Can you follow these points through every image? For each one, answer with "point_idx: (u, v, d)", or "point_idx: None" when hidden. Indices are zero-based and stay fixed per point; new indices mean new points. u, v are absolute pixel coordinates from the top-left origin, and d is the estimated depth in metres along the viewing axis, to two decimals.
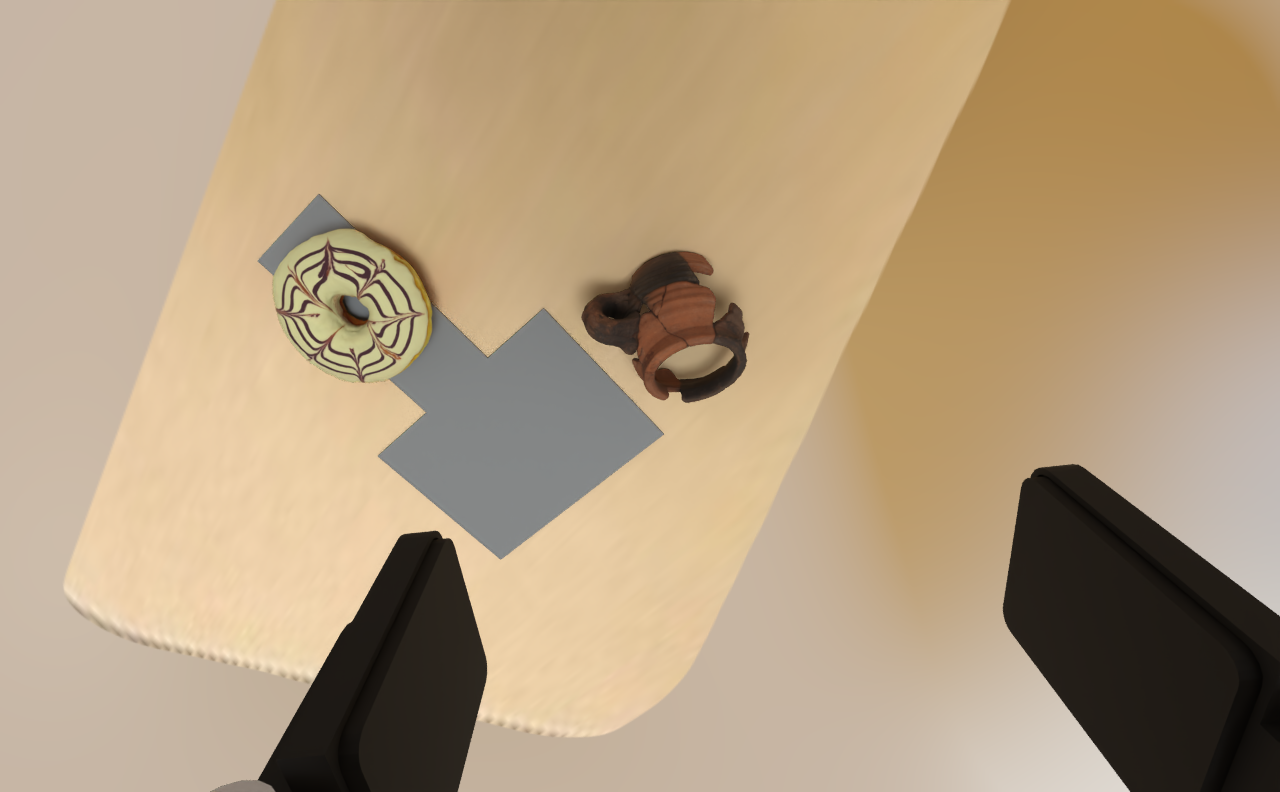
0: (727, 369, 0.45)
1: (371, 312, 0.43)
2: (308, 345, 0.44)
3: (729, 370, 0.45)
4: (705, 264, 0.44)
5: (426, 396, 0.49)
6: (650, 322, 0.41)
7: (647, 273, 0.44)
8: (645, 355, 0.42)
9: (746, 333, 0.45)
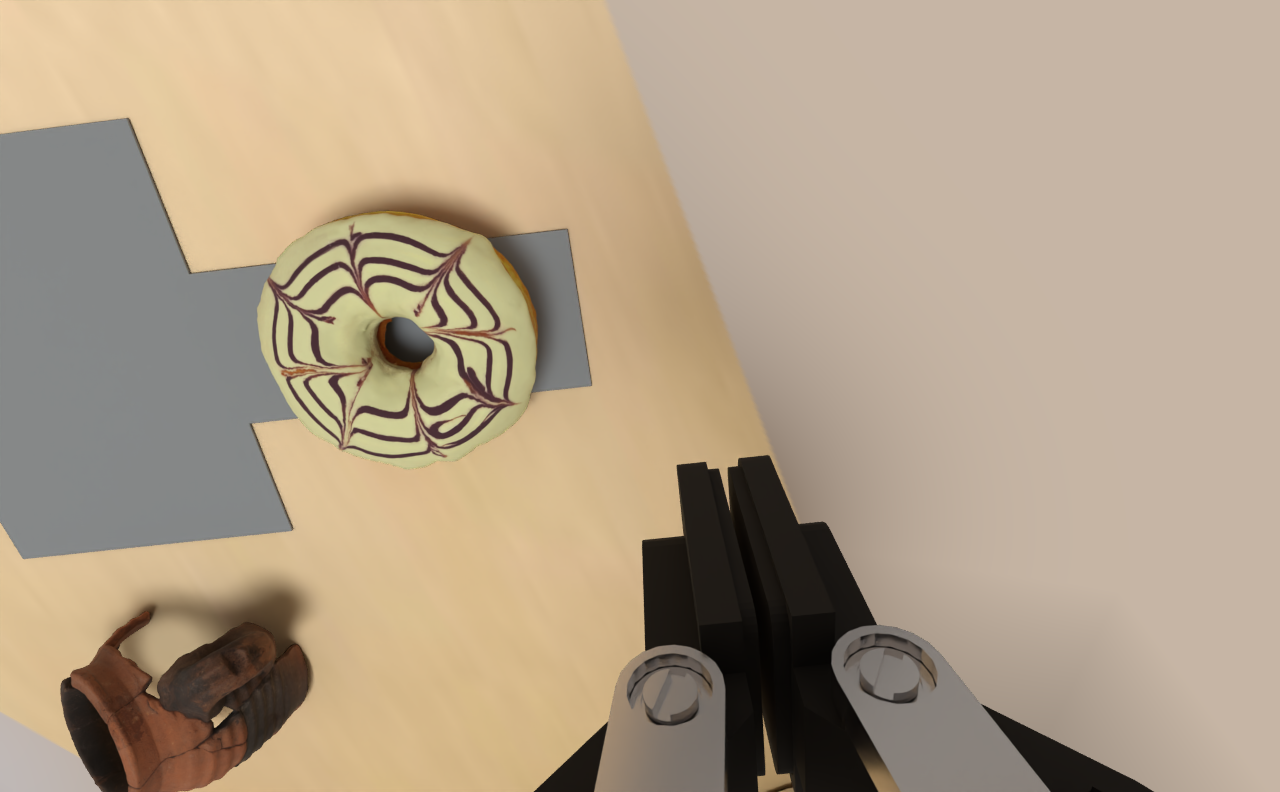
0: (99, 740, 0.32)
1: (380, 385, 0.25)
2: (374, 256, 0.23)
3: (94, 747, 0.31)
4: None
5: (220, 295, 0.27)
6: (191, 738, 0.29)
7: (285, 688, 0.33)
8: (143, 713, 0.28)
9: None
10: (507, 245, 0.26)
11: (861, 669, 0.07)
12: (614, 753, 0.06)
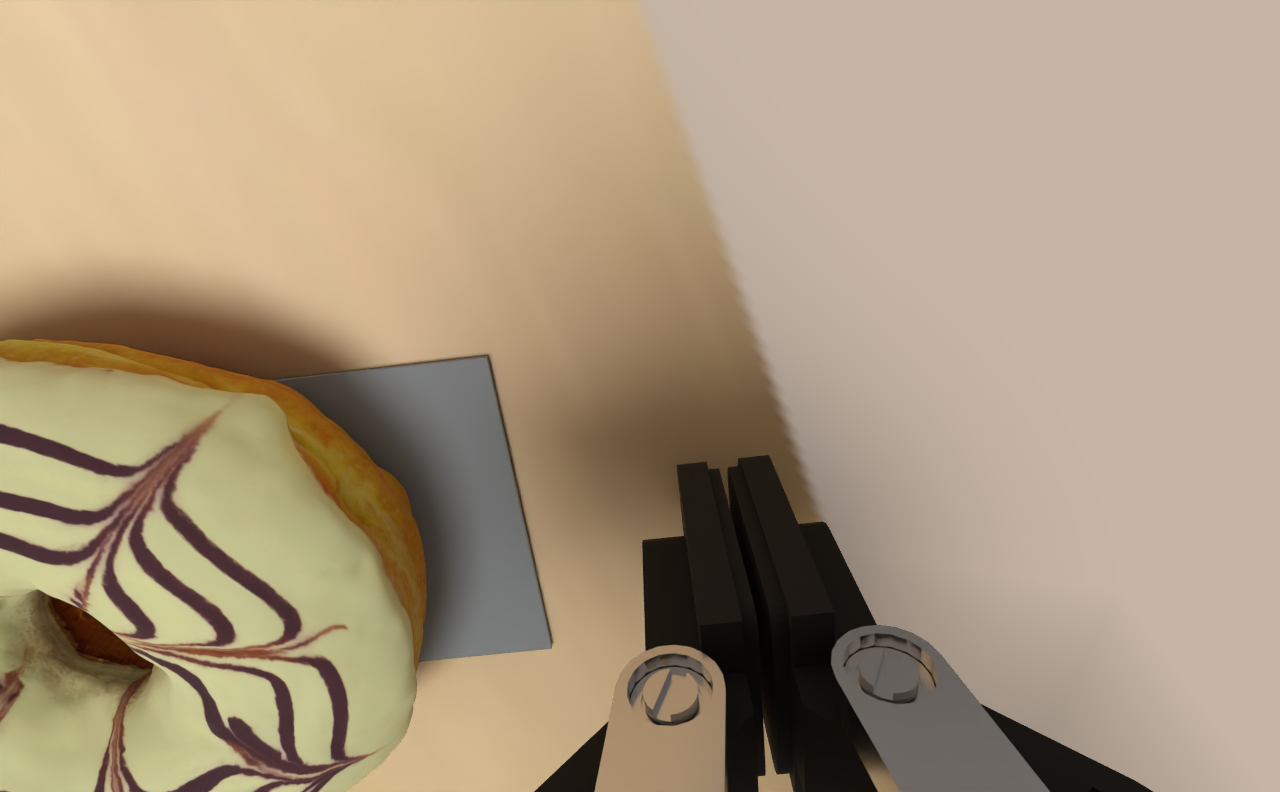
0: None
1: (40, 734, 0.11)
2: None
3: None
4: None
5: None
6: None
7: None
8: None
9: None
10: (355, 390, 0.12)
11: (861, 669, 0.07)
12: (614, 753, 0.06)
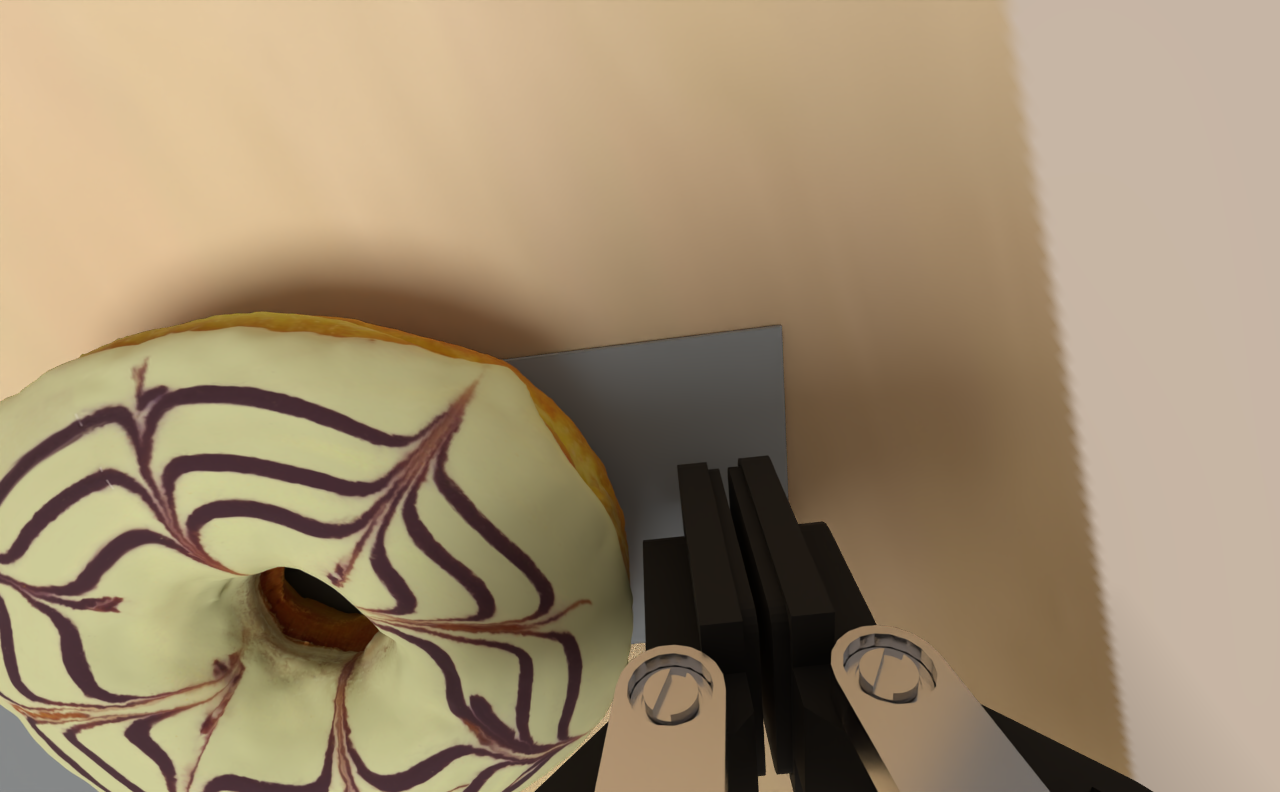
0: None
1: (262, 716, 0.10)
2: (207, 452, 0.08)
3: None
4: None
5: None
6: None
7: None
8: None
9: None
10: (641, 362, 0.11)
11: (861, 669, 0.07)
12: (614, 753, 0.06)
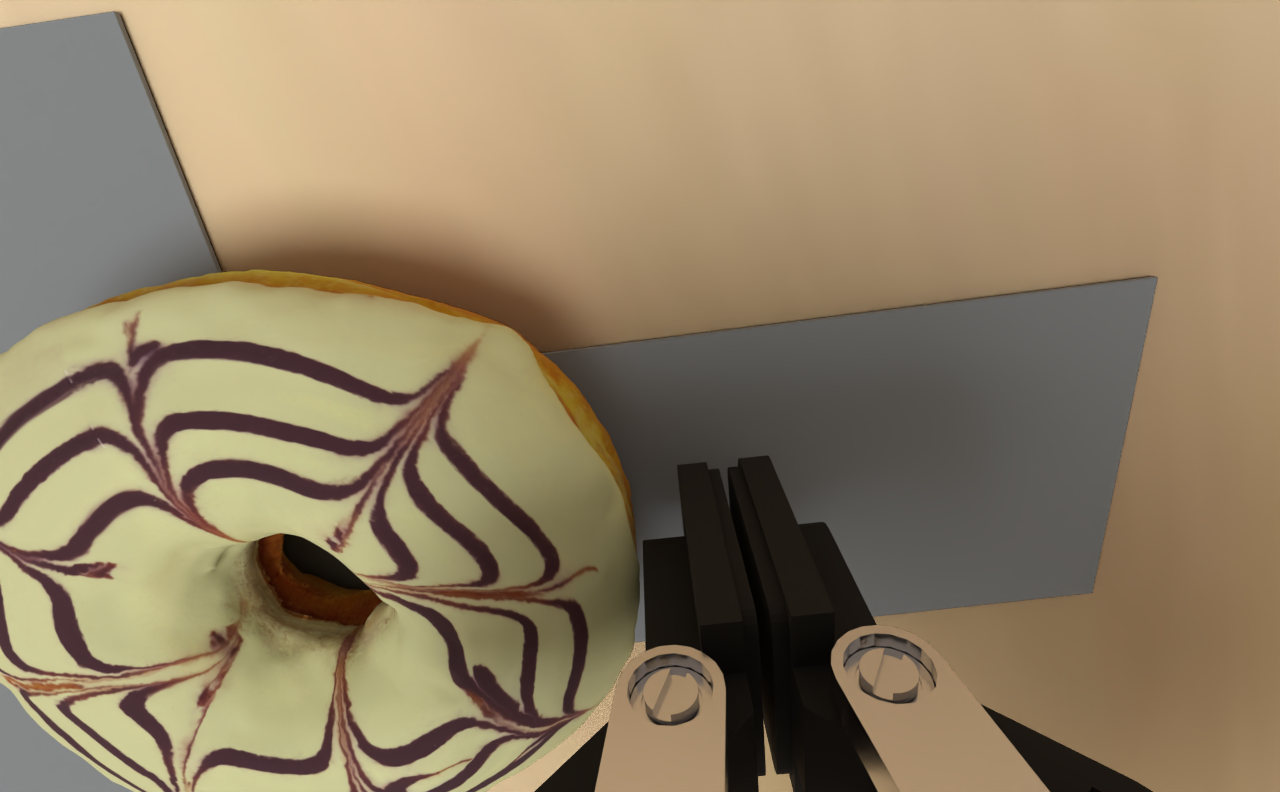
0: None
1: (261, 689, 0.10)
2: (201, 410, 0.08)
3: None
4: None
5: None
6: None
7: None
8: None
9: None
10: (1002, 316, 0.11)
11: (861, 669, 0.07)
12: (614, 754, 0.06)
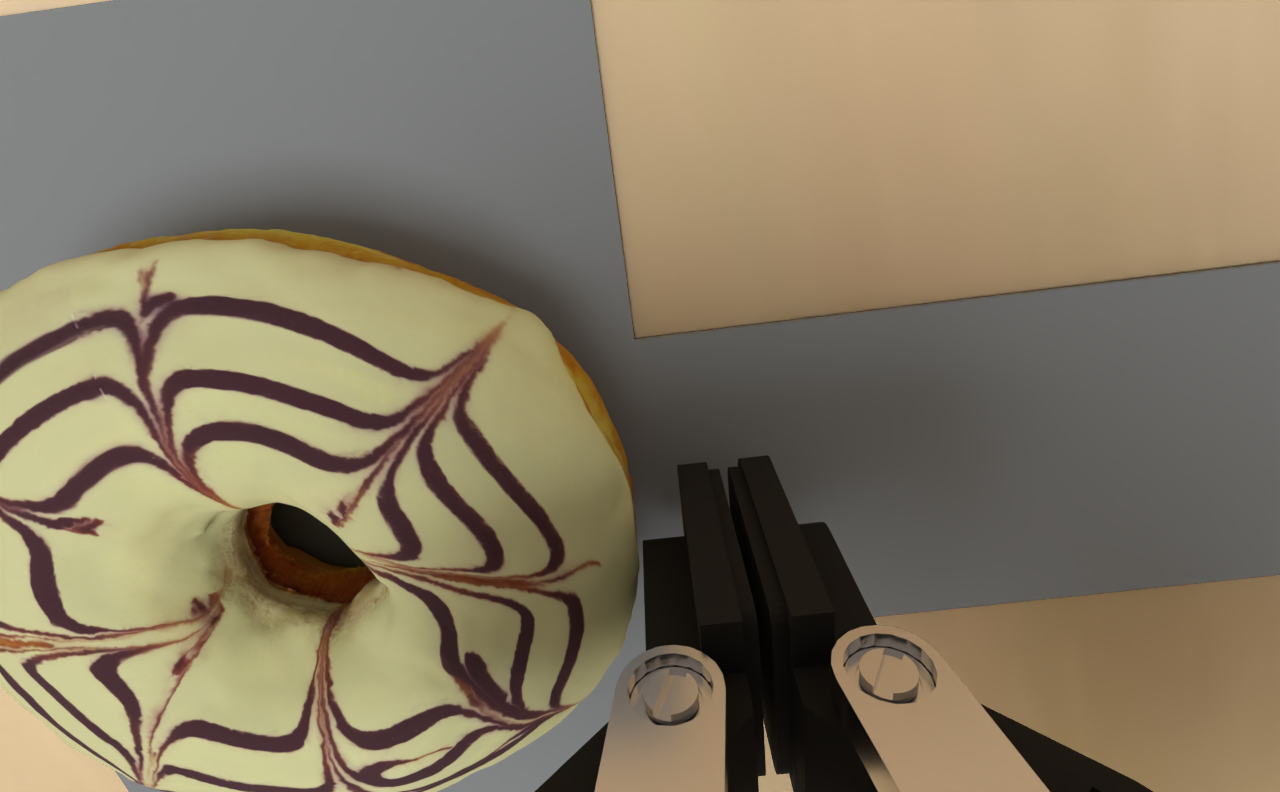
0: None
1: (239, 662, 0.10)
2: (213, 368, 0.08)
3: None
4: None
5: (693, 387, 0.11)
6: None
7: None
8: None
9: None
10: None
11: (861, 669, 0.07)
12: (614, 753, 0.06)
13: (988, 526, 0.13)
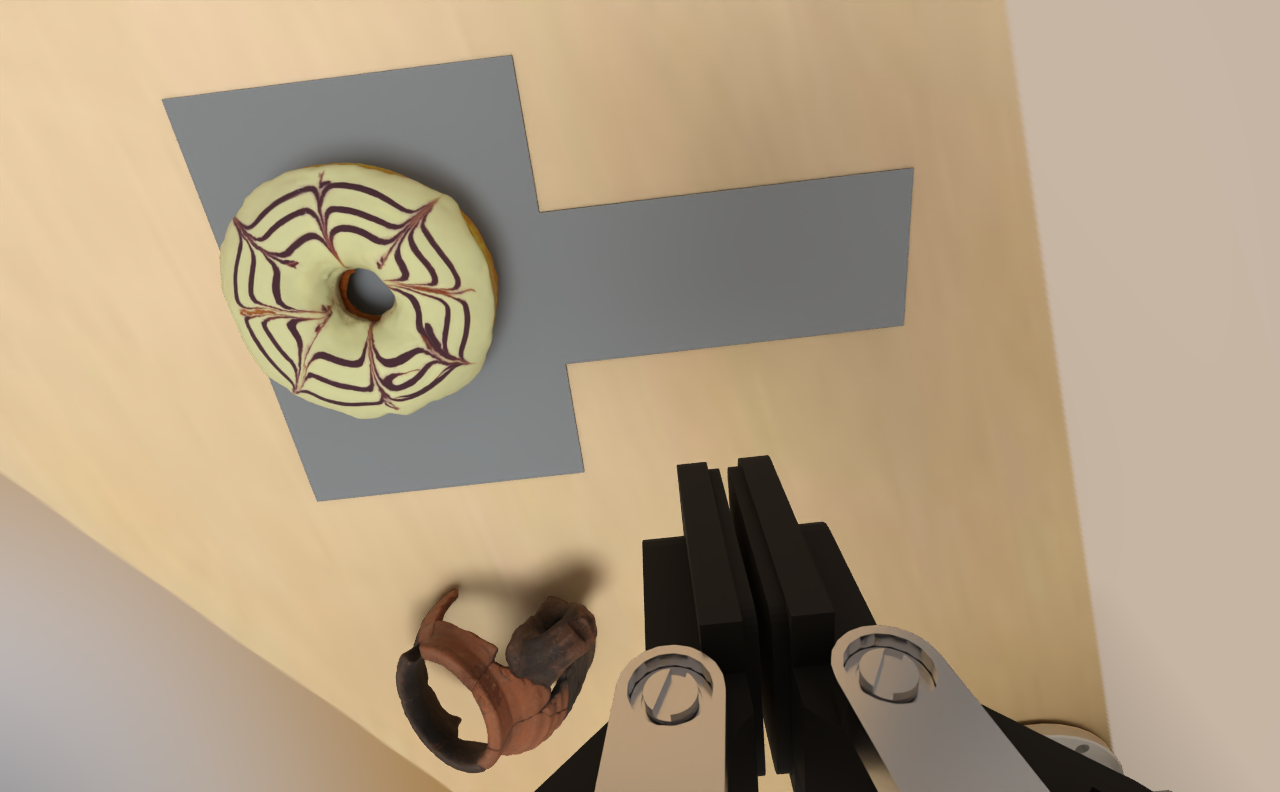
0: (426, 710, 0.34)
1: (338, 333, 0.26)
2: (341, 206, 0.23)
3: (424, 717, 0.33)
4: None
5: (565, 234, 0.27)
6: (537, 702, 0.31)
7: (586, 657, 0.35)
8: (498, 681, 0.30)
9: (460, 722, 0.36)
10: (851, 184, 0.27)
11: (861, 669, 0.07)
12: (614, 753, 0.06)
13: (702, 304, 0.29)
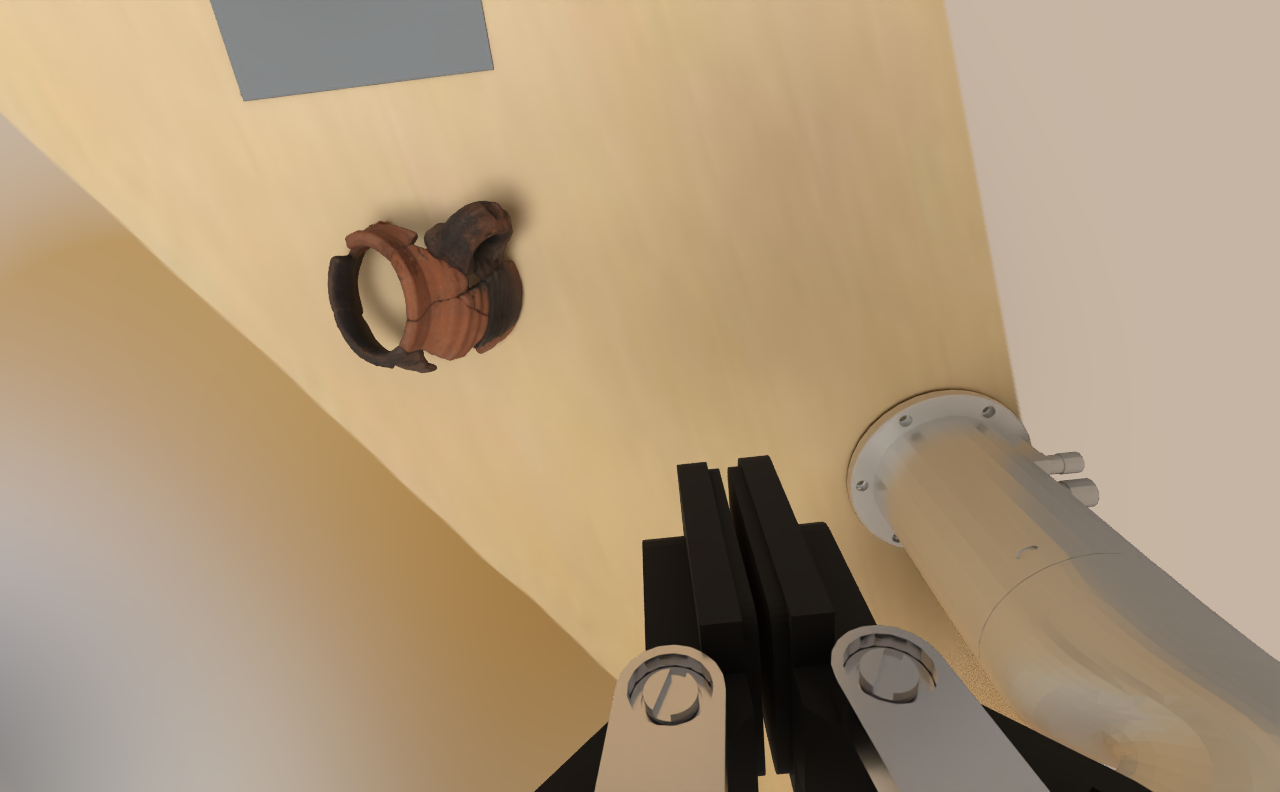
0: (357, 325, 0.36)
1: None
2: None
3: (355, 329, 0.36)
4: (489, 349, 0.39)
5: None
6: (454, 285, 0.33)
7: (510, 288, 0.37)
8: (416, 258, 0.33)
9: None
10: None
11: (861, 669, 0.07)
12: (614, 753, 0.06)
13: None
